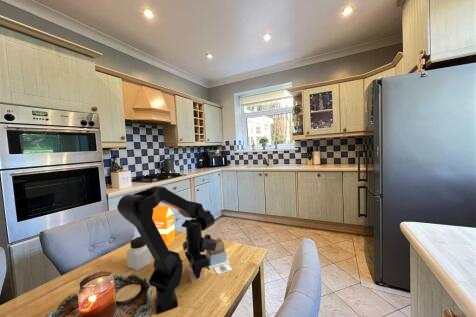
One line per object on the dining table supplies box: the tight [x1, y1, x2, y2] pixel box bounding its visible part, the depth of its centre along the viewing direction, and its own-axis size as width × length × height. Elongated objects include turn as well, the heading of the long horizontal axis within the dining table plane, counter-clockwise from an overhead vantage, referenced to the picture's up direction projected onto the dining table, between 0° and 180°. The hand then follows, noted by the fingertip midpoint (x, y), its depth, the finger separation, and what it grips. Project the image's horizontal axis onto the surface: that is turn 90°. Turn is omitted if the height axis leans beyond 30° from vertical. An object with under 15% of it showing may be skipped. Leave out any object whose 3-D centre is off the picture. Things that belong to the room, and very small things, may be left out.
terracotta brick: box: [187, 264, 206, 283], centre depth 79 cm, size 5×5×4 cm
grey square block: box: [205, 250, 231, 270], centre depth 89 cm, size 9×9×5 cm
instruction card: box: [213, 264, 233, 275], centre depth 83 cm, size 4×6×1 cm
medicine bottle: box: [126, 235, 153, 272], centre depth 89 cm, size 7×7×12 cm
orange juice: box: [152, 205, 176, 246], centre depth 111 cm, size 8×9×20 cm
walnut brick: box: [208, 237, 226, 256], centre depth 89 cm, size 6×6×4 cm
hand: (196, 274), depth 79 cm, fingers closed on terracotta brick, 5 cm apart
